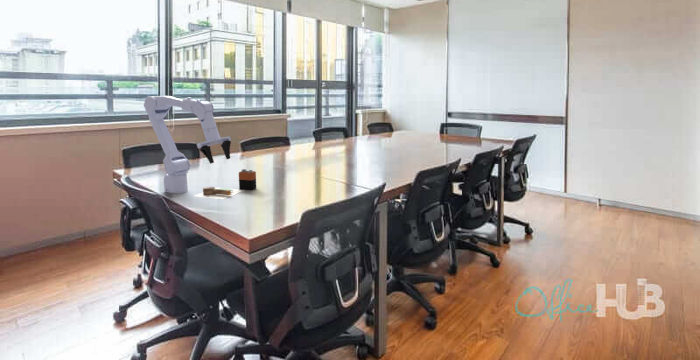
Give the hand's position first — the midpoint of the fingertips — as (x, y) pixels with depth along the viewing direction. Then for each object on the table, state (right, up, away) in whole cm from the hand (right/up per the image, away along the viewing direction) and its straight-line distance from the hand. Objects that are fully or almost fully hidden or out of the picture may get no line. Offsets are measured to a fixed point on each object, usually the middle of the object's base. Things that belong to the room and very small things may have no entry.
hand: (220, 161), depth 179 cm
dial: (-4, -14, +8) cm, 17 cm away
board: (-4, -15, +11) cm, 19 cm away
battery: (+7, -13, +19) cm, 25 cm away
